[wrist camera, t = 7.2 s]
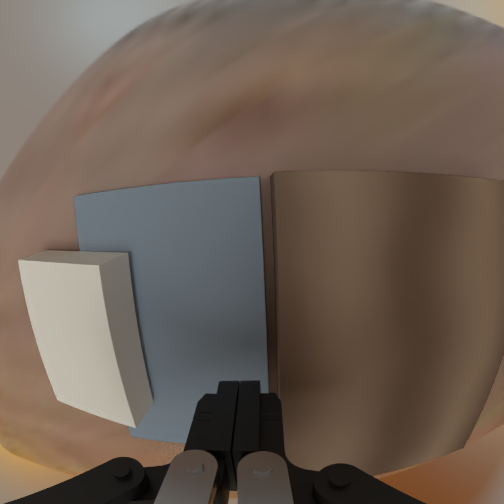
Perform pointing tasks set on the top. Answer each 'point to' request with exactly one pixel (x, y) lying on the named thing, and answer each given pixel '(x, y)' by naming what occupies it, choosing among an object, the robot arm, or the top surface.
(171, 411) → the mat
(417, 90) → the top surface
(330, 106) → the top surface
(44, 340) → the cream thick tile
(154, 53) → the top surface
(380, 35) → the top surface
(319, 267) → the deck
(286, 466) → the robot arm
